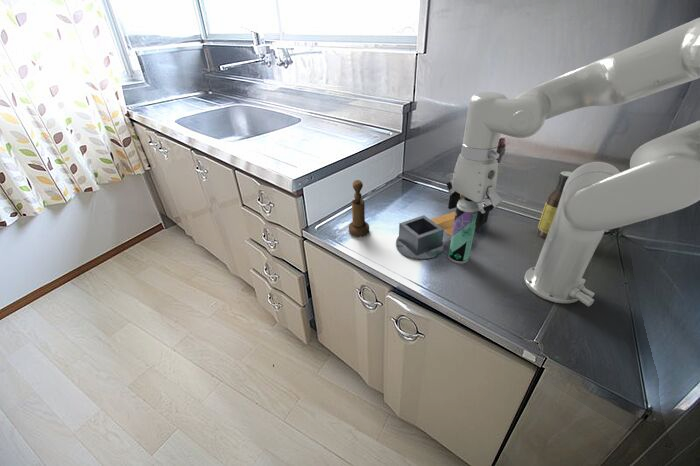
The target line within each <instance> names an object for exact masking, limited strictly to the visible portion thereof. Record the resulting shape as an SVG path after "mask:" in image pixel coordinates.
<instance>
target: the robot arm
mask: <svg viewBox="0 0 700 466" xmlns="http://www.w3.org/2000/svg"><path fill="white" fill-rule="evenodd" d="M698 79H700V17H697V18H694V19H692V20H691V21H688V22H686V23H683V24H681V25H679V26H677V27H675V28H671V29H669V30H667V31H665V32H663V33H660V34H658V35H656V36H653V37H651V38H648V39H646V40H644V41H642V42H639V43H637V44H635V45H632V46H630V47H627V48H625V49H622V50H620V51H619V52H615V53H613V54H610V55H608V56H605V57H603V58H600V59H597V60H595V61H594V62H591V63H589V64H587V65H585V66H582V67H579V68H577V69H575V70H571V71H569V72H566V73H564V74H562V75H559V76H556V77H554V78H551V79H550V80H547V81H545V82H543V83H541V84H538V85H535V86H534V87H531V88H529V89H527V90H524V91H522V92H521V93H520V94H518V95H517V96H516V97H515V98H510V99H509V98H507V96H506V95H505V94H503V93H501V92H495V91H494V92H491V91H490V92H489V91H486V92H477V93H475V94H473V95H472V96H471V97H470V99H469V102H468V108H467V112H466V120H465V127H464V133H463V139H462V144H461V145H462V146H461V149H460V150H461V151H460V153H459V155H458V157H457V161H456V163H455V166H454V169H453V172H452V173H449V174H448V173H447V174H446V175H445V181H446V186H447V189H448V192H447V194H448V195H449V197H448V198H449V200H448V205H447V209H449V210H452V209H455V208H457V203H458V201H459V200H460V195H463V196H465V197H467V198H469V199H470V200H472V201H474V202H476V203H478V206H479V211H478V213H477V218H476V222H475V225H476V227H480V226H482V225H485V224H486V223H487V222H488V217H489V214H490V212H491V211H492V210H495V209H497V208H498V207H499V206H500V205H501V203H503V200H502V198H501V197H500V195H499V194H498V193H497V192H496V189H497V181H498V173H499V165H498V164H499V160H498V159H499V157H500V153H498V152H497V151H498V146H499V143H500V137H501V135H505V136H508V137H511V138H516V139H525V138H530V137H532V136H534V135H535V134H537V133H538V132H539V131H540V130H541V129H542V127H543V125H544V124H545V121H546V120H548V119H552V118H554V117H556V116H560V115H562V114H565V113H569V112H572V111H575V110H578V109H582V108H583V109H584V108H588V107H612V106H613V107H614V106H619V105H624V104H627V103H630V102H632V101H635V100H639V99H643V98H645V97H648V96H650V95H652V94H656V93H658V92H661V91H664V90H667V89H671V88H673V87H676V86H680V85H684V84H686V83H688V82H692V81H694V80H698ZM571 172H572V173H571V174H570V176H569V177H568V179H567V181H566V183H565V186H564V189H563V192H562V195H561V198H560V201H559V205H558V208H557V210H556V213H555V216H554V219H553V222H552V224H551V227H550V229H549V232H548V234H547V237H546V238H545V240H544V243H543V245H542V248H541V250H540V253H539V256H538V259H537V262H536V265H535V266H533V267H530V268H529V269H527V271H525V274H524V284H526V287H528V289H529V290H530V291H531V292H532V293H534V294H535V295H537V296H538V297H539V298H542V299H544V300H547V301H549V302H553V303H556V304H557V303H558V304H573V303H576V302H578V301H579V302H581V303H583V304H584V305H585V306H587V307H590V306H592V304H594V302H595V299H593V297H594V296H595V292H593V291H592V290H589V289H588V288H586V286H585V283H586V281H587V280H586V279H585V278H583V276H584V274H585V272H586V270H587V268H588V266H589V263H591V259H592V257H593V256H594V253H595V252H596V249H597V247H598V245H599V244H600V243H601V240H602V238H603V236H604V234H605V232H606V231H608V230H614V229H618V228H621V227H625V226H628V225H632V224H635V223H638V222H643V221H646V220H649V219H652V218H657V217H660V216H663V215H667V214H670V213H673V212H677V211H680V210H683V209H685V208H687V207H690V206H691V205H694V204H695V203H697V202H699V201H700V120H697V121H695V122H692V123H690V124H688V125H685V126H682V127H681V128H678V129H676V130H673V131H671V132H669V133H666V134H663V135H661V136H659V137H656V138H654V139H651V140H649V141H647V142H645V143H644V144H642V145H640V146H639V147H637V149H635V151H634V152H633V153H632V155H631V156H630V161H629V168H628V169H625V170H623V171H620V170H619V169H618V168H617V167H616V166H614V165H613V164H611V163H607V162H603V161H592V162H591V161H590V162H587V163H585V164H582V165H580V166H579V167H577V168H576V169H574V170H573V171H571ZM484 204H485V205H484Z"/></svg>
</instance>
